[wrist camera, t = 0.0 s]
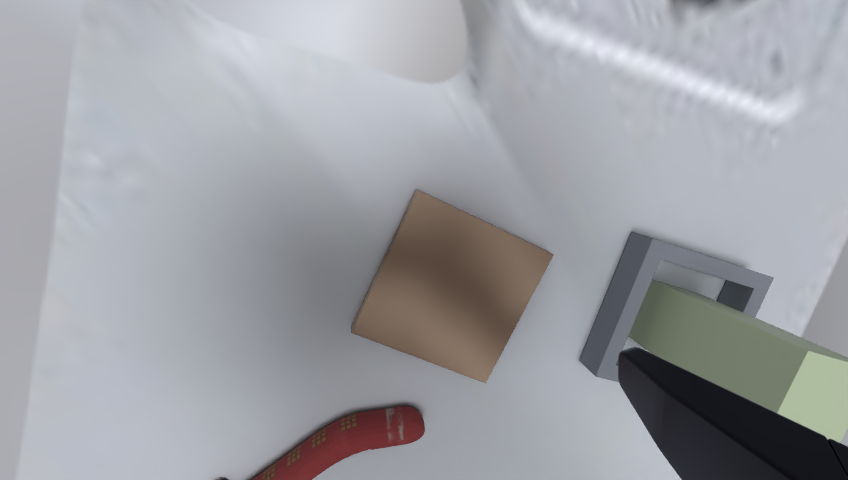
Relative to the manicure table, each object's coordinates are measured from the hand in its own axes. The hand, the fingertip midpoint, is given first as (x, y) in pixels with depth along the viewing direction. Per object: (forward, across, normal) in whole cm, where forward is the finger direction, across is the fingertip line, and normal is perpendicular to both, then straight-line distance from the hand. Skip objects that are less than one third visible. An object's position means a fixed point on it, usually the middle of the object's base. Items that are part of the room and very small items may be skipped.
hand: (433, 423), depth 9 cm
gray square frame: (+13, -16, +13) cm, 24 cm away
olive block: (+13, -16, +13) cm, 24 cm away
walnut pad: (+14, -3, +7) cm, 16 cm away
